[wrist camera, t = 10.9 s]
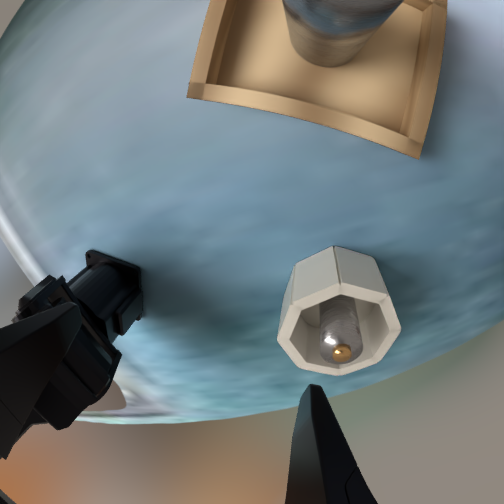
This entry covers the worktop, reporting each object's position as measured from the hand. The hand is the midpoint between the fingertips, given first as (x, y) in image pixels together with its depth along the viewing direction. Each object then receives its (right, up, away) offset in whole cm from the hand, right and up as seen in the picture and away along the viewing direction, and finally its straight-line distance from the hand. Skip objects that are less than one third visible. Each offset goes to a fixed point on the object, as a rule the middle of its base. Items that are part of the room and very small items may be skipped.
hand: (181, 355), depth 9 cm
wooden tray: (+7, +17, +5) cm, 19 cm away
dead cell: (+9, 0, +12) cm, 15 cm away
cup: (+9, 0, +13) cm, 16 cm away
